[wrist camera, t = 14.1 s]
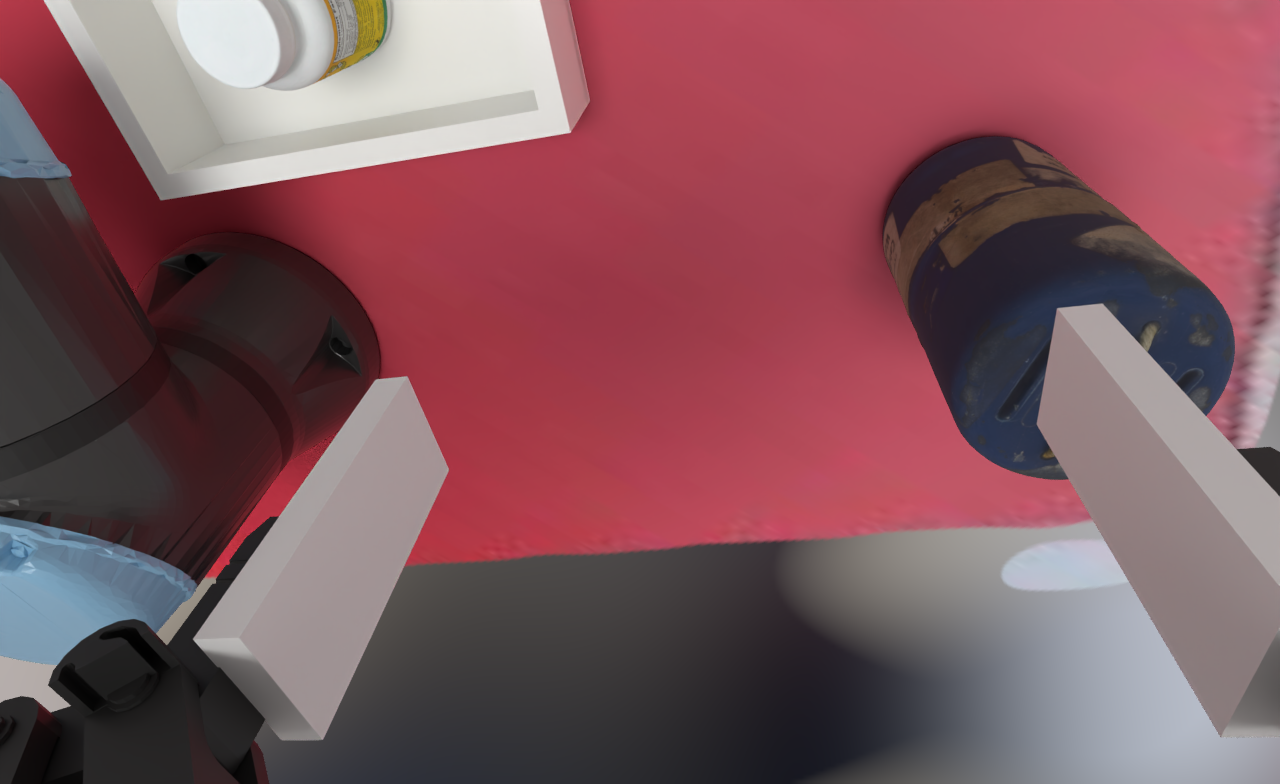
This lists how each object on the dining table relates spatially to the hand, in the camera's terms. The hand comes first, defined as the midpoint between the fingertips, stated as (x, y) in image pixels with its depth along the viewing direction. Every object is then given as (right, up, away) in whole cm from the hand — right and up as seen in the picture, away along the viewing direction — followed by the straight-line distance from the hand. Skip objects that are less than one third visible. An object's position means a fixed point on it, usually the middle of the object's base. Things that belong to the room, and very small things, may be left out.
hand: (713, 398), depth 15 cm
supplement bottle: (-16, +19, +20) cm, 32 cm away
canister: (+16, +10, +24) cm, 31 cm away
